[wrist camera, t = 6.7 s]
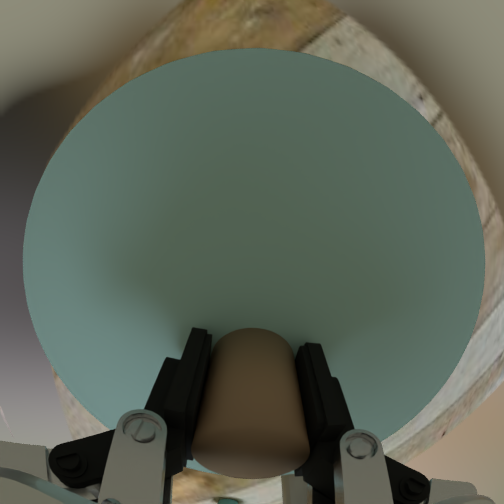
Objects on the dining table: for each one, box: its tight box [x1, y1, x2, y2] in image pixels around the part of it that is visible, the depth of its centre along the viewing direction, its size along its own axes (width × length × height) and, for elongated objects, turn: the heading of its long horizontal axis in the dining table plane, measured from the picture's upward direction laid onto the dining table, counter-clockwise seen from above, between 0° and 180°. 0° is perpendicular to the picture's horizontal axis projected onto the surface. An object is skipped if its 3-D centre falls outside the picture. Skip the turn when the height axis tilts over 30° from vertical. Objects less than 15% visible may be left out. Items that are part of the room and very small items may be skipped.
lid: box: [23, 48, 485, 479], centre depth 8 cm, size 22×22×5 cm
